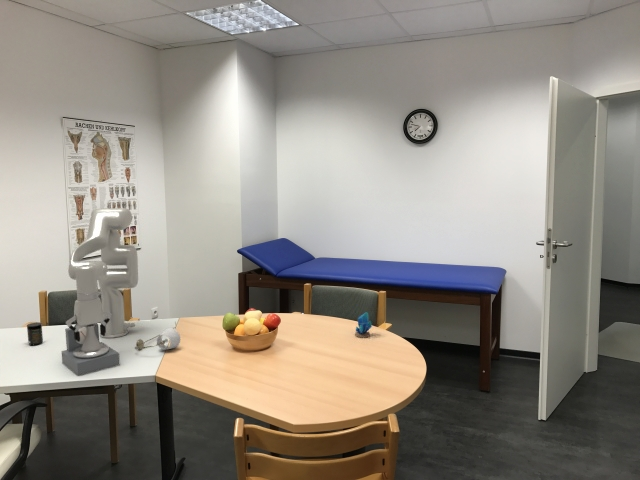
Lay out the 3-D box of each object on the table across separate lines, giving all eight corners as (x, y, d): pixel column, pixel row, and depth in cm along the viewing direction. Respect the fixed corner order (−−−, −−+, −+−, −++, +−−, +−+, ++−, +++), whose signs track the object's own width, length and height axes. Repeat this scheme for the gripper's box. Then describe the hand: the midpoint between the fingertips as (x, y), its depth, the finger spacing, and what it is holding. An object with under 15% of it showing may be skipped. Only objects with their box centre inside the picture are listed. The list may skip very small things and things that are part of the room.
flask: (105, 347, 206) (104, 323, 204) (91, 353, 199) (90, 329, 198) (91, 345, 208) (89, 321, 207) (77, 351, 202) (75, 327, 200)
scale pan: (101, 344, 213) (101, 341, 213) (114, 352, 204) (114, 349, 203) (68, 351, 204) (68, 349, 204) (80, 360, 195) (80, 358, 194)
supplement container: (45, 343, 230) (44, 323, 228) (32, 346, 225) (31, 327, 224) (38, 340, 233) (37, 321, 232) (25, 344, 228) (24, 324, 227)
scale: (102, 353, 217) (100, 321, 215) (119, 364, 205) (117, 331, 203) (62, 363, 206) (59, 329, 204) (78, 376, 194) (75, 340, 192)
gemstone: (374, 335, 242) (374, 310, 240) (363, 339, 235) (363, 314, 234) (361, 331, 247) (362, 307, 245) (350, 336, 240) (350, 311, 239)
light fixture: (209, 331, 250) (168, 355, 211) (177, 336, 254) (131, 360, 215) (205, 313, 250) (163, 333, 211) (173, 318, 254) (126, 339, 215)
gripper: (106, 290, 209) (108, 330, 211) (61, 298, 197) (64, 340, 200) (113, 294, 204) (115, 335, 206) (67, 301, 192) (70, 345, 194)
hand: (90, 337), depth 203 cm, fingers open, 9 cm apart
